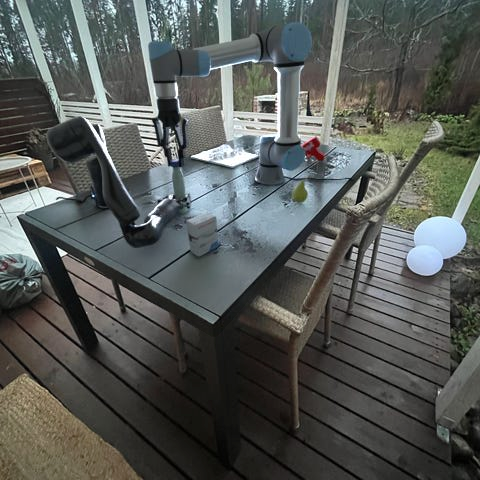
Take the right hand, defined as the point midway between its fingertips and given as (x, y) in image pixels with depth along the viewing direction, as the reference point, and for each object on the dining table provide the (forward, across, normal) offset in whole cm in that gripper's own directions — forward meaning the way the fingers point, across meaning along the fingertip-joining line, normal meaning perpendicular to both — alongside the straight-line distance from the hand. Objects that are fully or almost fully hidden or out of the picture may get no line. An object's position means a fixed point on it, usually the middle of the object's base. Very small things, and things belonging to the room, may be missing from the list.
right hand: (176, 165), depth 104 cm
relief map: (+19, +6, -79) cm, 82 cm away
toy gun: (+19, -48, -85) cm, 99 cm away
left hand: (+13, 0, -3) cm, 13 cm away
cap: (-2, 0, 0) cm, 2 cm away
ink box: (+19, -19, +25) cm, 37 cm away
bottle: (+19, 0, 0) cm, 19 cm away
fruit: (+19, -47, -21) cm, 55 cm away
